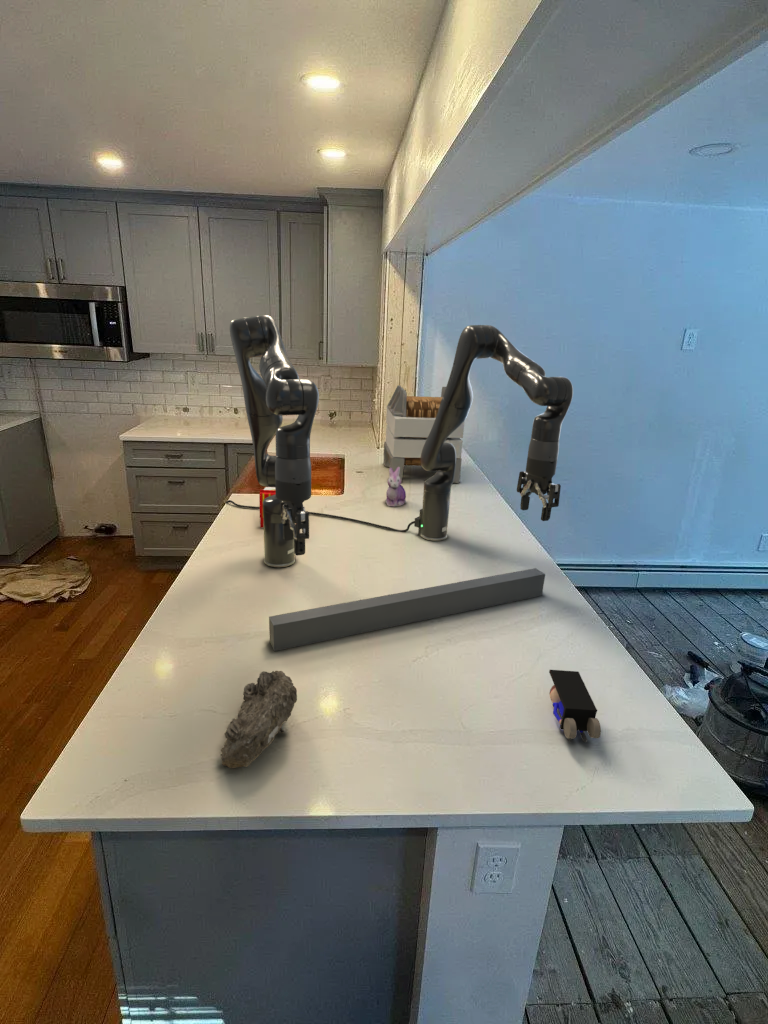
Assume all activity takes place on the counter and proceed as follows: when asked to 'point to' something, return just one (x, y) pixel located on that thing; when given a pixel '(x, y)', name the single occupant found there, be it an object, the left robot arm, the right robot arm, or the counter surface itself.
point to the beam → (401, 608)
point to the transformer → (414, 430)
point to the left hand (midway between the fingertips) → (294, 546)
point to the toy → (262, 495)
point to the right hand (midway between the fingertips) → (534, 515)
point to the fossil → (258, 718)
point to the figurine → (395, 489)
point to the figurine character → (573, 705)
